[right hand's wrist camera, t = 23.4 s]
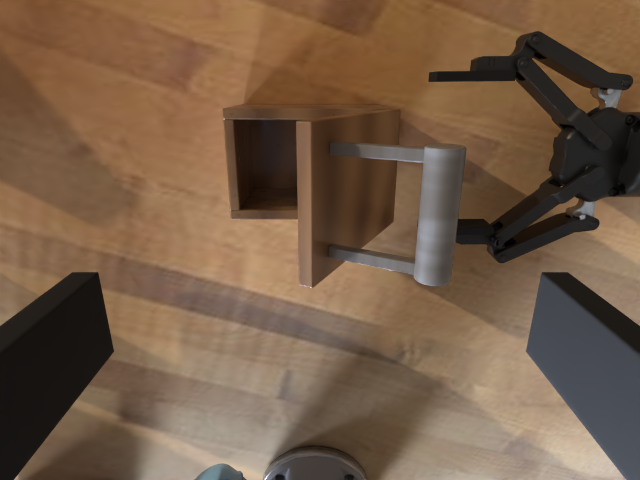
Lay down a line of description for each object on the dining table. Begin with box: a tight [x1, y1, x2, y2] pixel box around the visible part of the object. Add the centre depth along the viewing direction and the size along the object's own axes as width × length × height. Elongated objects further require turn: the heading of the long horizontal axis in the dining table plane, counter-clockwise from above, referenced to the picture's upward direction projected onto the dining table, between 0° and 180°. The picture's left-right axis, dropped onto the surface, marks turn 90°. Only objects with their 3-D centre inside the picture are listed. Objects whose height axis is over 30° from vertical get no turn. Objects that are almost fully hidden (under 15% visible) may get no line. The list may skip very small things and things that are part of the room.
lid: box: [296, 109, 466, 288], centre depth 27 cm, size 14×9×8 cm
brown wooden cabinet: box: [223, 104, 392, 219], centre depth 40 cm, size 14×9×10 cm
